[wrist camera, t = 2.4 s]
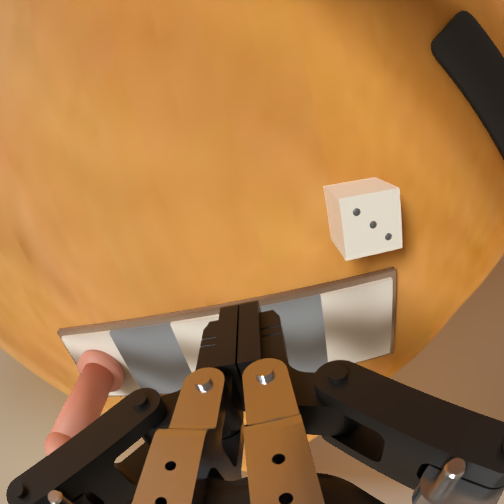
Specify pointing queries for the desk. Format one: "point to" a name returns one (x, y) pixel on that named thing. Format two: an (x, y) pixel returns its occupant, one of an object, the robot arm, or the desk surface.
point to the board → (284, 304)
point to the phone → (474, 70)
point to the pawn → (86, 396)
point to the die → (364, 217)
